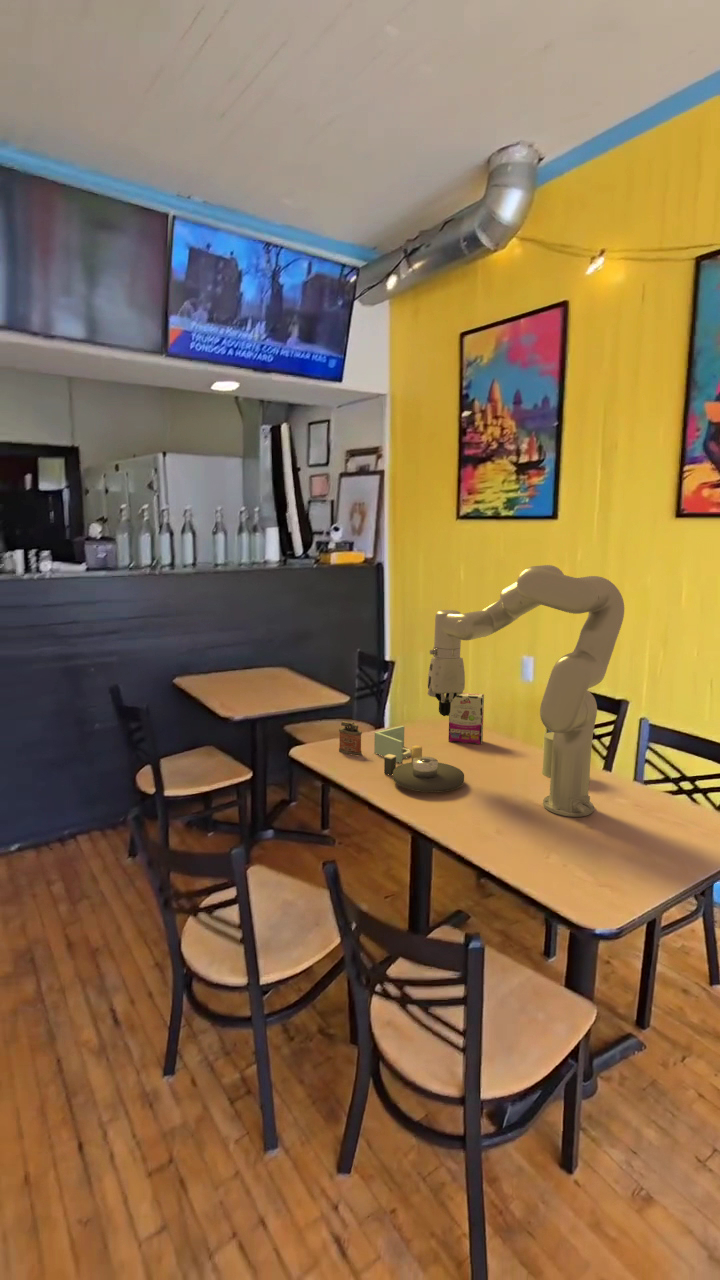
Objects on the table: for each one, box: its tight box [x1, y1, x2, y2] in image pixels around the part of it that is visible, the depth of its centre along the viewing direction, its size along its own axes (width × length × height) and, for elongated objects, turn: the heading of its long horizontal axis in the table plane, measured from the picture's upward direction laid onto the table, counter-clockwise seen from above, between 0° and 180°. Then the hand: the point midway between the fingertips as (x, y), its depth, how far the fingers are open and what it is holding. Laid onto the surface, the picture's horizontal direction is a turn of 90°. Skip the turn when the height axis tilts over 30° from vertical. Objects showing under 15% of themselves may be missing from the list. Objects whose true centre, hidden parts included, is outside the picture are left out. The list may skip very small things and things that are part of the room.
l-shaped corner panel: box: [373, 725, 412, 764], centre depth 217 cm, size 12×12×8 cm
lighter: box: [338, 720, 363, 756], centre depth 218 cm, size 8×3×10 cm, turn 58°
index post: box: [383, 754, 397, 776], centre depth 200 cm, size 3×3×5 cm
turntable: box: [392, 745, 465, 793], centre depth 192 cm, size 20×20×6 cm
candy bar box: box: [448, 692, 485, 745], centre depth 230 cm, size 11×5×16 cm, turn 73°
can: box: [541, 731, 554, 779], centre depth 201 cm, size 9×9×12 cm
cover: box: [412, 756, 439, 779], centre depth 191 cm, size 7×7×4 cm
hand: (444, 714), depth 199 cm, fingers closed
